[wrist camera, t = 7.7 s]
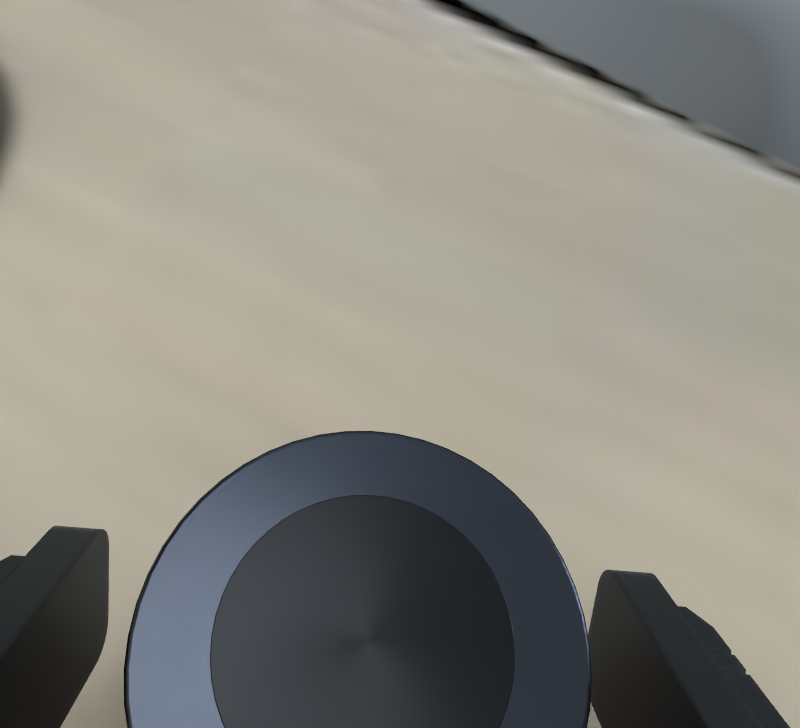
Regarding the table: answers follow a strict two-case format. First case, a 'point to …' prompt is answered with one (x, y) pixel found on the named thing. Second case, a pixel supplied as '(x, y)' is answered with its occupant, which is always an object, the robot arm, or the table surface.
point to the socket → (358, 599)
